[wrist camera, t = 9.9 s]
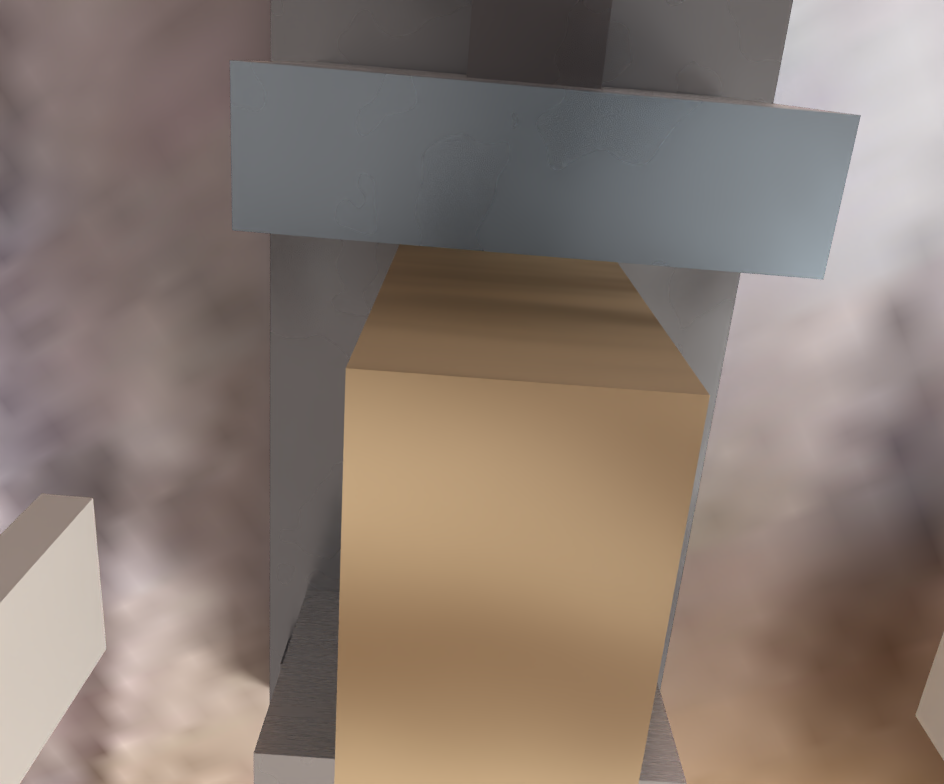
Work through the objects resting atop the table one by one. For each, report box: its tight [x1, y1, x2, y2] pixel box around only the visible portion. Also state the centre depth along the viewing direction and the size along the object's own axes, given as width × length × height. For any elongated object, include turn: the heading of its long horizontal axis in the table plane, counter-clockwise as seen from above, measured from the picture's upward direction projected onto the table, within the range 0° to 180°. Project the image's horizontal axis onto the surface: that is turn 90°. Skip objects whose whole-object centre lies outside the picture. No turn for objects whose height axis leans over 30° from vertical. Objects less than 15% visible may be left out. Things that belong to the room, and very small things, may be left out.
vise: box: [254, 0, 793, 784], centre depth 20 cm, size 20×11×7 cm, turn 175°
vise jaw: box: [230, 0, 861, 279], centre depth 15 cm, size 7×9×7 cm
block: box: [334, 244, 710, 784], centre depth 18 cm, size 8×5×9 cm, turn 176°
